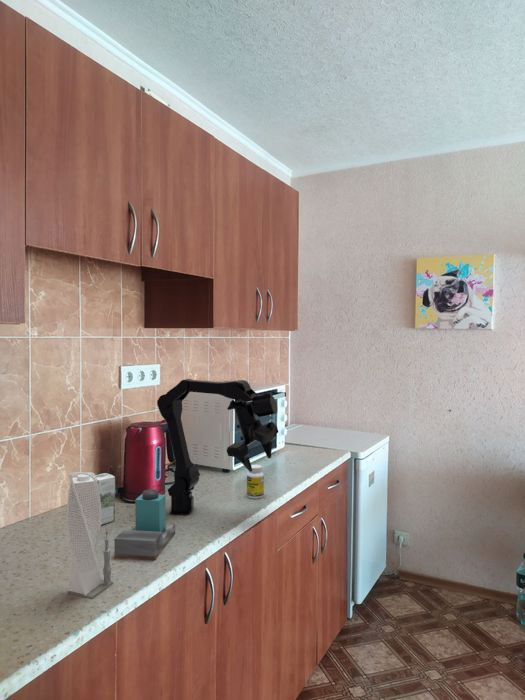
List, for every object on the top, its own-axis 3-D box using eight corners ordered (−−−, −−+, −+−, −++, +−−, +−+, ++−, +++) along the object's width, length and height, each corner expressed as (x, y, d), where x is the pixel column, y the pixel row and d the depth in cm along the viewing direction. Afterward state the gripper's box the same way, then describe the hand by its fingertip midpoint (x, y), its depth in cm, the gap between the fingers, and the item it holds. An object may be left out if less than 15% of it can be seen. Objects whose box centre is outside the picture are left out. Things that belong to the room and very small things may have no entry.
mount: (139, 531, 145) (139, 515, 145) (175, 533, 143) (175, 516, 143) (114, 557, 128) (114, 538, 128) (154, 560, 127) (154, 541, 126)
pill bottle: (243, 497, 175) (243, 467, 175) (251, 492, 181) (251, 463, 180) (258, 500, 172) (258, 469, 172) (266, 495, 178) (266, 465, 178)
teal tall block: (142, 531, 142) (142, 488, 142) (165, 532, 141) (165, 489, 141) (135, 538, 137) (135, 494, 137) (159, 539, 136) (159, 495, 136)
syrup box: (105, 516, 157) (104, 472, 156) (115, 521, 153) (115, 475, 153) (88, 522, 152) (88, 476, 152) (99, 526, 149) (98, 479, 148)
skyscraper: (87, 602, 107) (86, 475, 106) (59, 594, 110) (57, 471, 109) (113, 583, 115) (111, 465, 114) (85, 577, 118) (84, 462, 117)
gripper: (243, 431, 142) (258, 480, 144) (283, 407, 155) (297, 453, 157) (219, 431, 150) (233, 477, 152) (259, 408, 163) (272, 451, 165)
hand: (260, 464), depth 156 cm, fingers open, 9 cm apart
